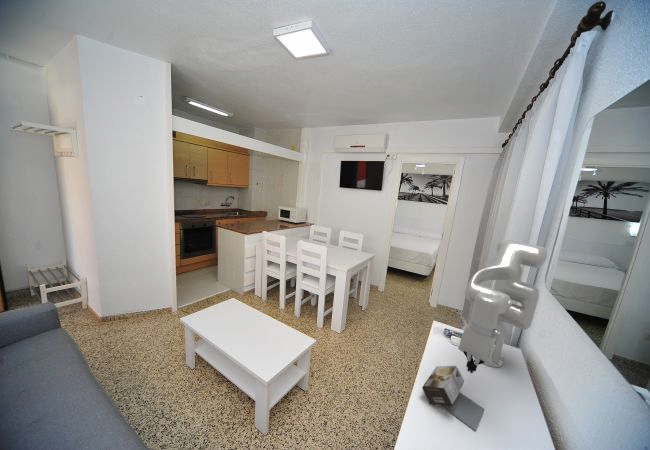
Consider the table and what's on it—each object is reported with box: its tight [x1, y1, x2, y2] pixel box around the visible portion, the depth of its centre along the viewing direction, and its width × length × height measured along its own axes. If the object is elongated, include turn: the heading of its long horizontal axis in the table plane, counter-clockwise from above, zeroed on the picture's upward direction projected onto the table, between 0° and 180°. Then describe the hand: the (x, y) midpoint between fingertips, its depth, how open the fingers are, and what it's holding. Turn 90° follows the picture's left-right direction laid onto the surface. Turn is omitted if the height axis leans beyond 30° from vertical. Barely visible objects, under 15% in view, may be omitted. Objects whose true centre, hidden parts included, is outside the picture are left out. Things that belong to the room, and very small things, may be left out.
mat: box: [439, 392, 485, 433], centre depth 85 cm, size 12×13×1 cm
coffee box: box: [421, 365, 465, 407], centre depth 89 cm, size 9×6×16 cm
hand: (470, 370), depth 85 cm, fingers closed
